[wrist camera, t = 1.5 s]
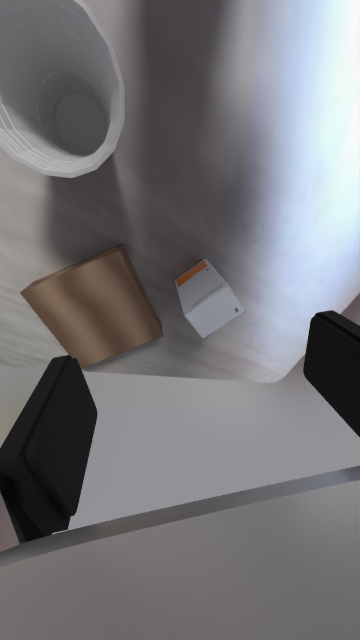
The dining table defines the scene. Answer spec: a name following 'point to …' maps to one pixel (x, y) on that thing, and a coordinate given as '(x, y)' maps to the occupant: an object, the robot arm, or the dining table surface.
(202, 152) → the dining table surface
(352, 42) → the dining table surface
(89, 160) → the plastic cup
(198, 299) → the skincare box
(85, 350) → the walnut base
